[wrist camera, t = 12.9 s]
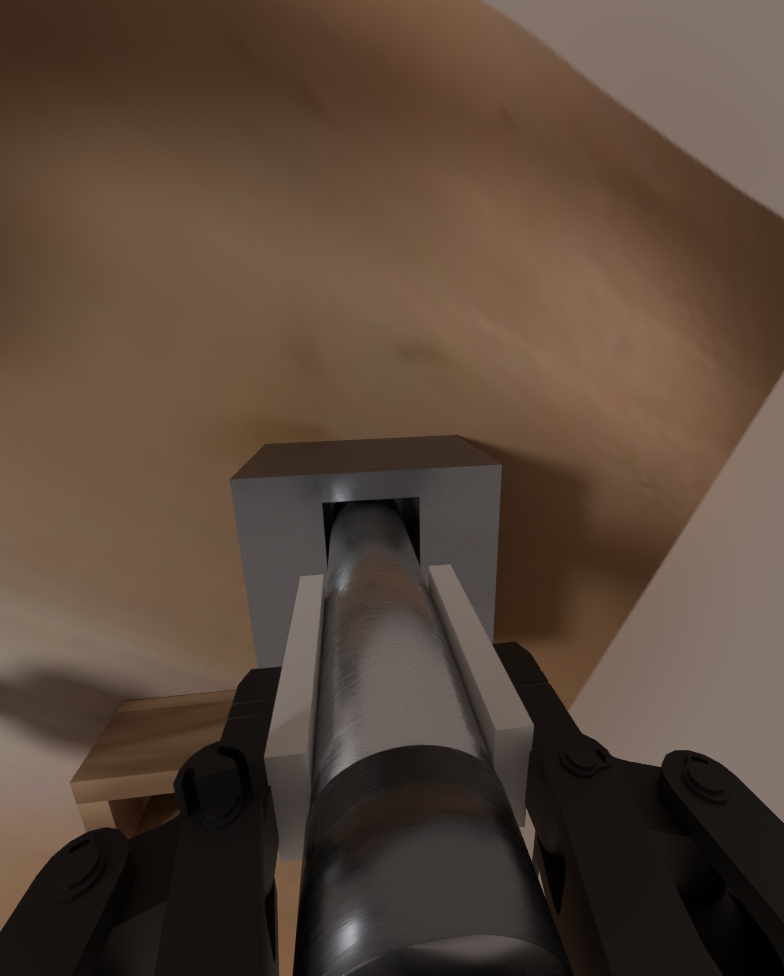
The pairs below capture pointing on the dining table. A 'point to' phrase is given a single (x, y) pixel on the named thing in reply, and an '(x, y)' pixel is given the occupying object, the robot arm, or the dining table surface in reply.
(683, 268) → the dining table surface
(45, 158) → the dining table surface
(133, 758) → the open box
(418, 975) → the steel round rod
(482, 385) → the dining table surface
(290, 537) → the socket
